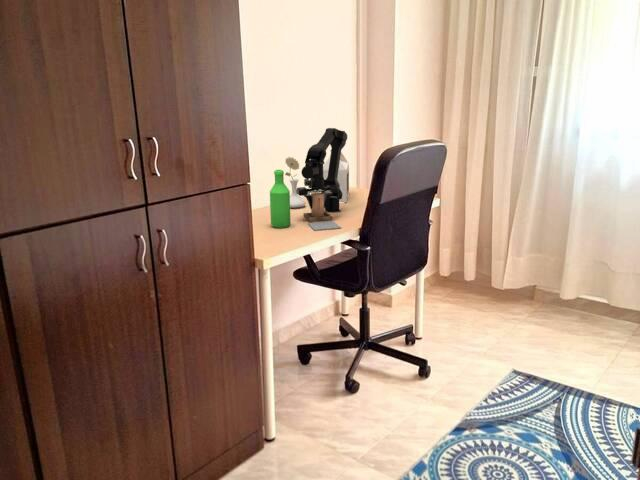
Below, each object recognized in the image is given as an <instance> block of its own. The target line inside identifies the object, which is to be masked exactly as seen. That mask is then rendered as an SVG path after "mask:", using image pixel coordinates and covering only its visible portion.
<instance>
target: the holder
mask: <svg viewBox="0 0 640 480" xmlns="http://www.w3.org/2000/svg"><path fill="white" fill-rule="evenodd" d="M303 218H304V219H305V220H306V221H307V223H313V222H324V221H334V220H333V215H331V214H330V212H327V211H326V210H324V216H312V215H311V212H303Z"/></svg>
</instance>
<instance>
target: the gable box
mask: <svg viewBox="0 0 640 480" xmlns="http://www.w3.org/2000/svg"><path fill="white" fill-rule="evenodd" d="M329 151H330V152H331V149H330V150H329ZM330 156H331V154H330V155H329V156H328V157H327V159H326V161H325V163H324V164H323V178H324V180H326V178H327V177H328V170H329V163H330ZM337 180H338V182H339V184H340V190H341V192H342V199H339V202H346V203H347V202H348V199H349V196H348V195H350V163H349V162H348V160H347V158H346V157H345V156H344V154H343V153H342V152H341V156H340V163H339V170H338V177H337ZM321 193H322V192H321ZM347 198H348V199H347Z"/></svg>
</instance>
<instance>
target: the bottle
mask: <svg viewBox="0 0 640 480" xmlns="http://www.w3.org/2000/svg"><path fill="white" fill-rule="evenodd" d="M273 175H274V184H273V185H272V187H271V189H270V190H269V206H270V210H269V211H270V225H271V226H272V227H273V228H275V229H277V228H278V229H283V228H288V227H290V225H291V222H292V221H291V207H290V196H291V192H290V190H289V188H288V186H287V185H286V184H285V182H284V175H285V171H284V170H283V169H275V170H274V172H273Z"/></svg>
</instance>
